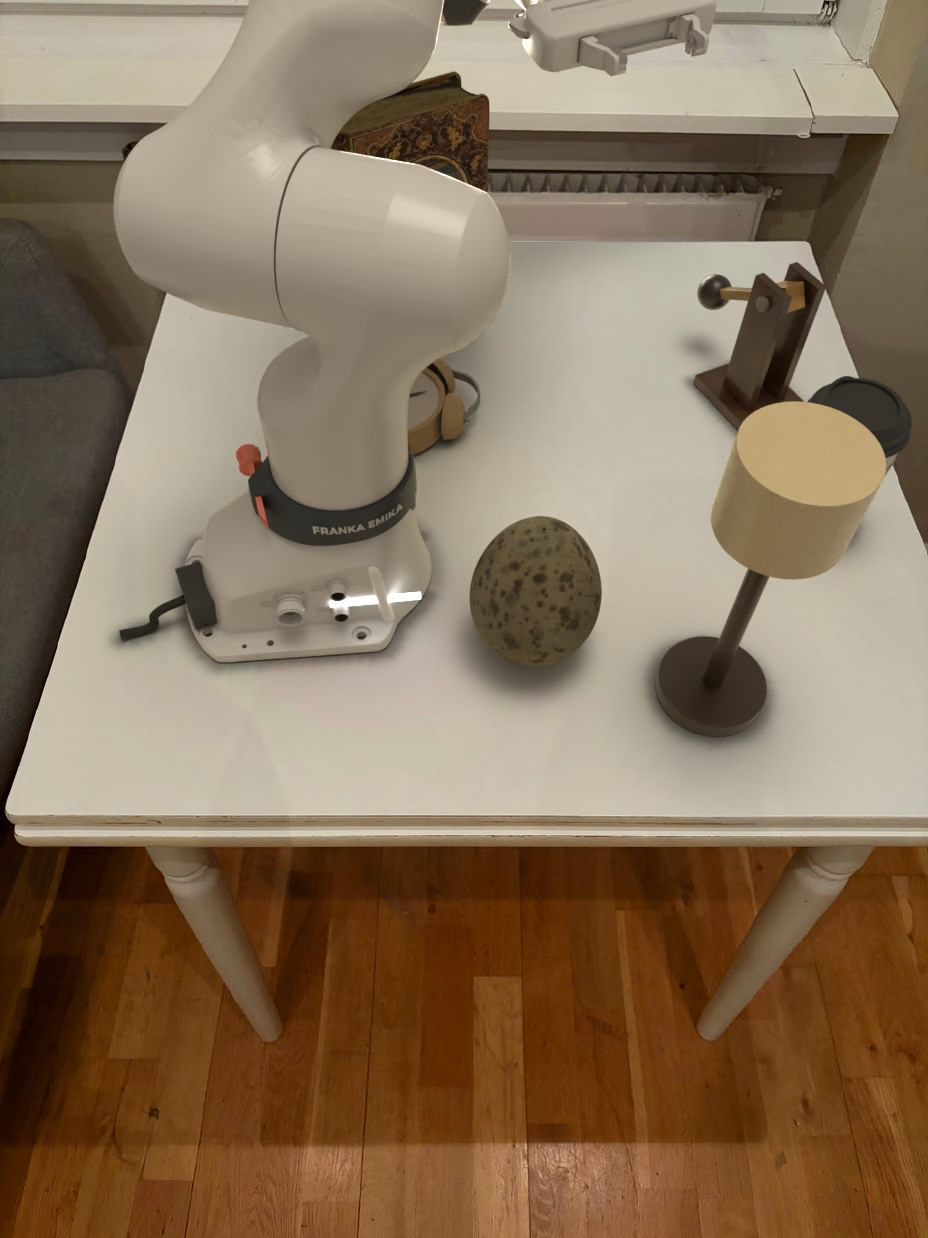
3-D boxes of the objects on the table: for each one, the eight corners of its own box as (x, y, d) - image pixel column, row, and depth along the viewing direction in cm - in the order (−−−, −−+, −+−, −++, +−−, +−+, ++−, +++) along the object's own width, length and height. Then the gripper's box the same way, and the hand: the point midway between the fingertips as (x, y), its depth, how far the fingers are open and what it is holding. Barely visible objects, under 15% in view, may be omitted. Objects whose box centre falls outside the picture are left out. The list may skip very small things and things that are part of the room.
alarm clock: (324, 374, 99) (461, 332, 99) (337, 408, 103) (468, 368, 103) (343, 449, 92) (489, 404, 92) (356, 482, 96) (496, 439, 97)
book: (357, 364, 104) (335, 138, 84) (335, 336, 107) (308, 111, 87) (483, 316, 109) (491, 92, 89) (458, 291, 112) (460, 68, 92)
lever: (692, 312, 102) (688, 278, 101) (719, 303, 103) (716, 269, 102) (781, 321, 90) (779, 282, 89) (811, 311, 91) (809, 272, 90)
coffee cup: (878, 528, 91) (945, 410, 79) (812, 569, 88) (871, 452, 76) (809, 471, 95) (862, 351, 83) (744, 508, 92) (789, 389, 80)
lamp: (681, 748, 77) (779, 519, 54) (638, 659, 82) (711, 415, 59) (780, 721, 79) (916, 488, 56) (732, 636, 84) (839, 389, 61)
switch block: (693, 383, 103) (725, 262, 91) (752, 362, 105) (791, 242, 93) (748, 441, 98) (790, 321, 86) (809, 418, 100) (858, 298, 88)
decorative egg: (557, 714, 79) (578, 607, 67) (445, 660, 82) (445, 548, 70) (610, 622, 84) (638, 508, 72) (503, 575, 87) (512, 458, 75)
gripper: (502, -16, 93) (572, 42, 86) (674, -51, 99) (754, 1, 92) (499, 52, 99) (565, 112, 92) (663, 15, 104) (738, 70, 97)
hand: (661, 56), depth 92 cm, fingers open, 8 cm apart
